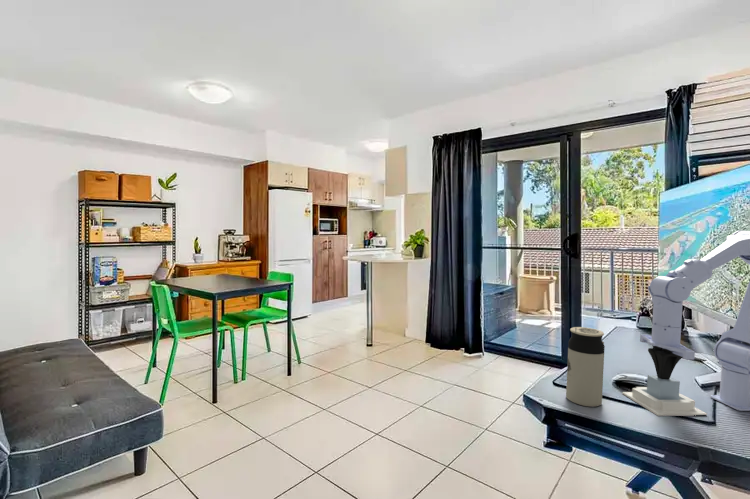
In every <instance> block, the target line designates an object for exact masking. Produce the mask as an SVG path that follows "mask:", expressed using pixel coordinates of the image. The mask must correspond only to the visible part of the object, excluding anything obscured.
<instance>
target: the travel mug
mask: <svg viewBox="0 0 750 499" xmlns="http://www.w3.org/2000/svg"><path fill="white" fill-rule="evenodd" d="M569 331H570V333H571V337H570V338H569V340H568V341H567V342H568V344H567V346H568V347H567V364H566V365H567V367H566V368H567V369H566V388H565V389H566V390H565V392H566V393H565V398H567V399H568V400H569V401H570V402H572V403H574V404H576V405H579V406H583V407H588V408H592V407H594V408H595V407H599V406H601V405H602V403H603V390H604V389H603V387H604V386H603V384H604V365H605V347H606V346H605V343H604V344H603V342H604V341H603V336H604V335H605V333H604V331H602V330H599V329H597V328H596V329H595V328H592V327H586V326H585V327H584V326H573V327H571V328H570V329H569ZM602 341H603V342H602Z"/></svg>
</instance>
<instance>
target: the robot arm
mask: <svg viewBox="0 0 750 499" xmlns="http://www.w3.org/2000/svg"><path fill="white" fill-rule="evenodd" d="M736 258H740V259H741V260H742V261H743V262H745V263H746V264H748V265H749V266H750V230H742V229H741V230H739V229H738V230H735V232H732V234H730V235H728V236H726V238H725V241H724V242H723V243H721V244H720V245H719V246H717V247H716V248H713V250H712V251H710V252H709V253H707V254H706V255H705V256H703V257H702V258H701V259H697V258H693V259H686V260H684V261H683V264H681V265H680V266H678V267H677V268H674V269H673V270H669V271H668V272H667V273H666V274H665V276H664V275H659V276H656V277H655V278H653V279H652V280H651V282H650V284H649V285H648V286H647V290H648V293H649V295H650V296H651V302H652V323H651V324H652V325H651V334H643V333H642V334H639V335H640V336H639V342H641V343H645V344H648V345H649V346H653V347H651V348H649V347H648V349H647V351H648V353H649V355H650V357H651V360H652V361H653V365H654V368H655V372H656V375H657V377H658V378H660V379H670V377H672V373H673V372H674V369H675V367H676V365H677V364H678V363H679V362H680V361H681V359H684V360H687V361H688V360H695V359H696V358H695V356H696V355H695V353H696V351H694V350H692V349H690V348H688V347H686V346H684V345H683V344H681V338H682V334H681V333H682V320H683V317H682V316H683V306H684V305H683V302H684V301H686V300H688V299H689V297H690V296H691V293H692V291H693V290H694V289H695V288H696V287H698V286H699V285H701V284H703V283H704V282H706V281H707V280H710V279H711V278H712V276H713V271H714V270H716V269H718V268H720V267H721V266H724V265H725V264H727V263H729V262H731V261H733V260H735V259H736ZM745 343H747V344H745ZM713 355H714V357H715V358H716V359H717V360H718V365H720V366H721V368H720V380H719V381H720V382H719V394H710V395H709V397H710V398H711V399H713V400H716V401H718V402H720V403H721V404H723V405H726V406H728V407H730V408H732V409H734V410H737V411H741V412H743V411H744V412H750V280H749V282H748V285H747V288H746V291H745V294H744V297H743V300H742V303H741V306H740V309H739V311H738V315H737V318H736V321H735V324H734V327H733V328H730V329H729V330H726V331H723V332H722V333H721V336H720V339H719V340H718V341H717V342H716V343H715V345H714V346H713Z"/></svg>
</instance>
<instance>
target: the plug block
mask: <svg viewBox="0 0 750 499" xmlns="http://www.w3.org/2000/svg"><path fill="white" fill-rule="evenodd" d="M680 384H681V382H680V381H679V380H677V379H675V378H674V377H672V376H670V379H660V378H658V377H657V374H647V380H646V387H647V393H648V394H649V395H651V396H653V397H655V398H656V399H658V400H679V393H680Z"/></svg>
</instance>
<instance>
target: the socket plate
mask: <svg viewBox="0 0 750 499" xmlns="http://www.w3.org/2000/svg"><path fill="white" fill-rule="evenodd" d="M631 390H632V391H622V392H621V394H622V395H623V396H625V397H626V398H628V399H630V400H632V401H633V402H635V403H636V404H637V405H639V406H641V407H643V408H645V409H646V410H647V411H650V412H651V413H653V414H654V415H656V416H657V417H663V416H664V417H665V416H666V417H669V416H673V417H675V416H678V417H679V416H681V417H682V416H683V417H689V416H690V417H694V415H695V417H697V416H696V415H707V416H708V413H706V412H704V411H703V410H701V409H699V408H698V407H696V401H695V400H693V399H692V398H690V397H688V396H686V395H684V394H682V393H680V392H679V400H658V399H656V398H655V397H653V396H651V395H649V394H648V393H647V386H635V387H632V389H631Z"/></svg>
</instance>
